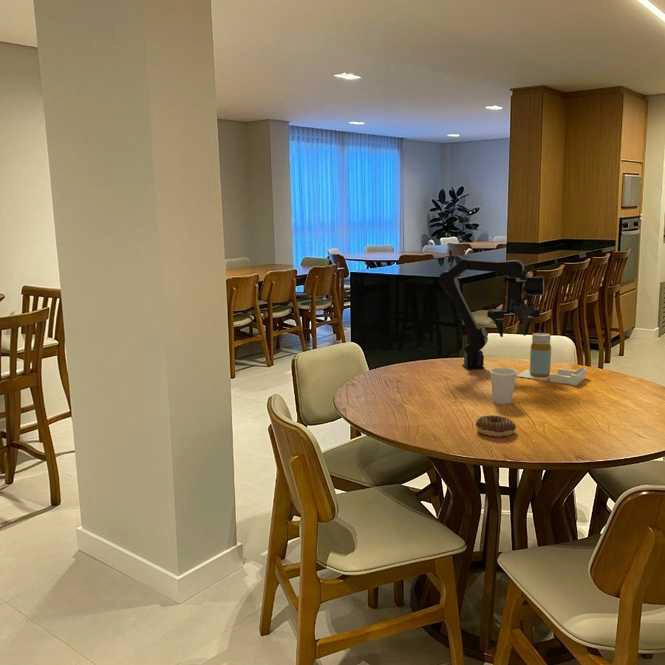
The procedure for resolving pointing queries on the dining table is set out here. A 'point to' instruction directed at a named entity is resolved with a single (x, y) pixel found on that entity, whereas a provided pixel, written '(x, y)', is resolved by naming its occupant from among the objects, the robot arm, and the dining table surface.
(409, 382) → the dining table surface
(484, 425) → the donut
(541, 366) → the bottle
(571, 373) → the dock
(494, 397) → the dixie cup
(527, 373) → the mat
